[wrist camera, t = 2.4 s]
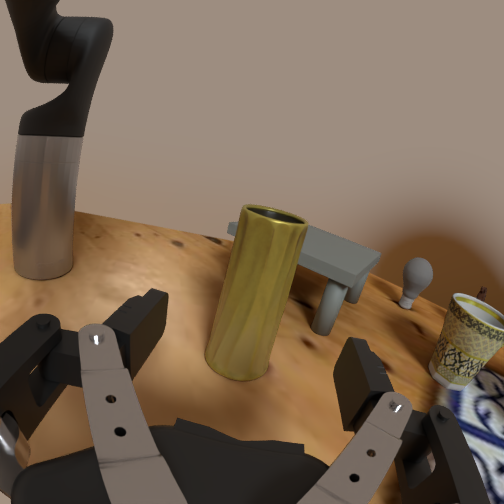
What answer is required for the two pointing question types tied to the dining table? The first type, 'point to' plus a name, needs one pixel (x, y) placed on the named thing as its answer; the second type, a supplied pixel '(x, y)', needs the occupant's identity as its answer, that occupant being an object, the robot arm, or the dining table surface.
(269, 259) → the vase
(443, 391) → the dining table surface
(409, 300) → the light bulb
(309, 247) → the stool
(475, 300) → the ceramic cup
